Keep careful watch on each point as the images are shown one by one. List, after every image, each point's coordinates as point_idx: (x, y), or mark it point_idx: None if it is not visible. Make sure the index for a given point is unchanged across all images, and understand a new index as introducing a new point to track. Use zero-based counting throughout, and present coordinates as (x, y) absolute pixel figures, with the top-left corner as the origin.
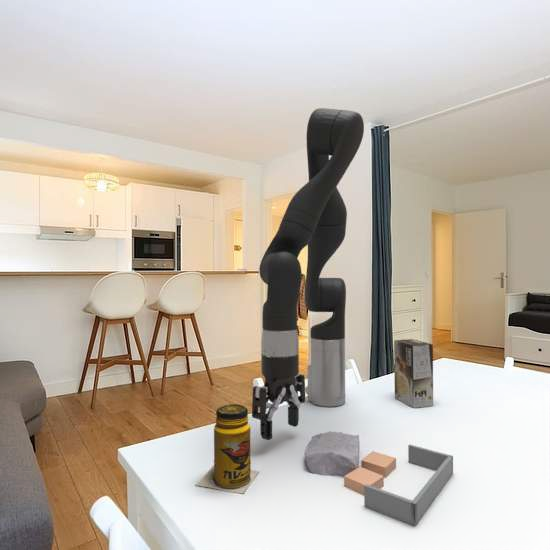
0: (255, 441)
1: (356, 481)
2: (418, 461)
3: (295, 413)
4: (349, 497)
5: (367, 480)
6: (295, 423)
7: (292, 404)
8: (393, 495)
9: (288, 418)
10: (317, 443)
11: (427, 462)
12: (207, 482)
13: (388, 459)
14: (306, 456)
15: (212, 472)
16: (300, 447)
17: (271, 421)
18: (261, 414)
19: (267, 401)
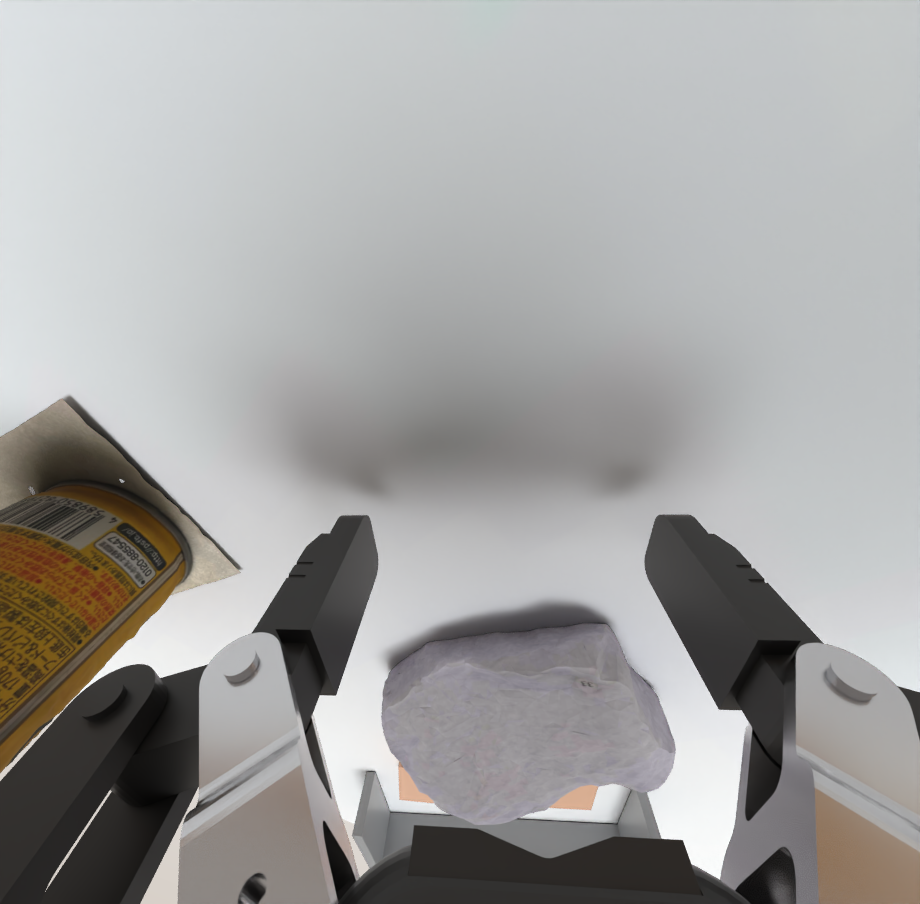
0: (434, 345)
1: (400, 784)
2: (632, 808)
3: (697, 657)
4: (370, 750)
5: (423, 795)
6: (654, 581)
7: (778, 724)
8: (368, 859)
9: (685, 546)
10: (510, 700)
11: (630, 824)
12: (6, 490)
13: (569, 802)
14: (384, 708)
15: (41, 445)
16: (537, 568)
17: (328, 688)
18: (112, 821)
19: (315, 866)
